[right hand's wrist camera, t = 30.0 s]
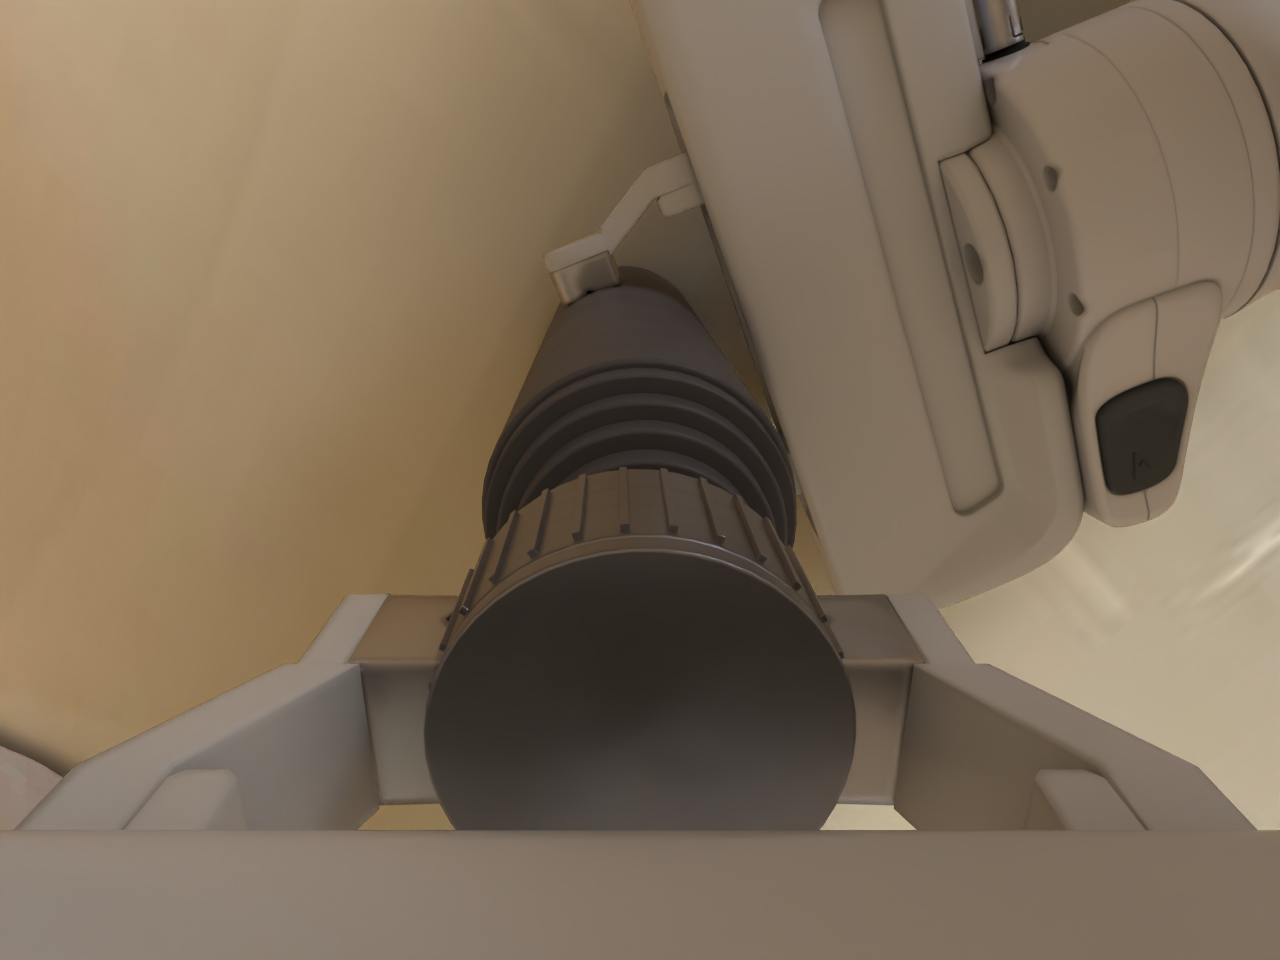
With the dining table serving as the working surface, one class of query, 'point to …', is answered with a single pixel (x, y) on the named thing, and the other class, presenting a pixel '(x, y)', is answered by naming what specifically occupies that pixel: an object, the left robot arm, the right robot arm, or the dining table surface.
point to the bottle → (636, 407)
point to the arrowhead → (21, 786)
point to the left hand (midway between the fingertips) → (597, 386)
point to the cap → (638, 669)
